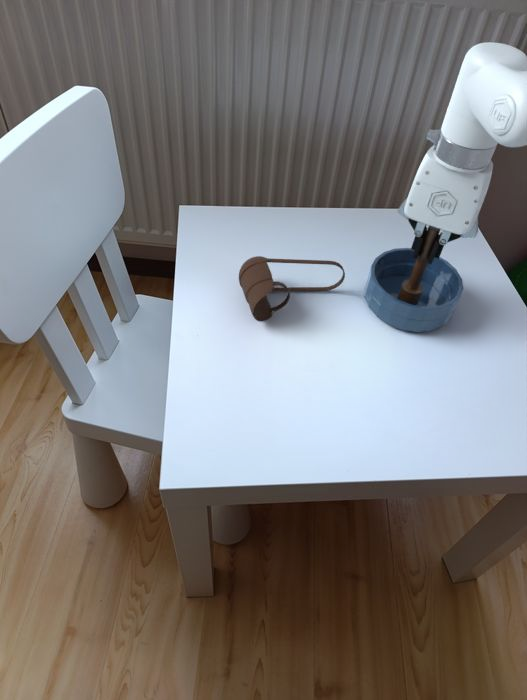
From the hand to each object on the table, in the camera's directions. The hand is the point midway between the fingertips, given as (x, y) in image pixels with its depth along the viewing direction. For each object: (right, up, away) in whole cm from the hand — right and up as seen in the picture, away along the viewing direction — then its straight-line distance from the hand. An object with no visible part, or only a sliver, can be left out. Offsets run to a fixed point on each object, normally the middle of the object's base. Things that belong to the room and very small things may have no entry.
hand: (424, 255), depth 86 cm
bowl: (-1, -7, +8) cm, 10 cm away
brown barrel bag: (-21, -6, +7) cm, 23 cm away
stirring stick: (-1, -6, +7) cm, 10 cm away
